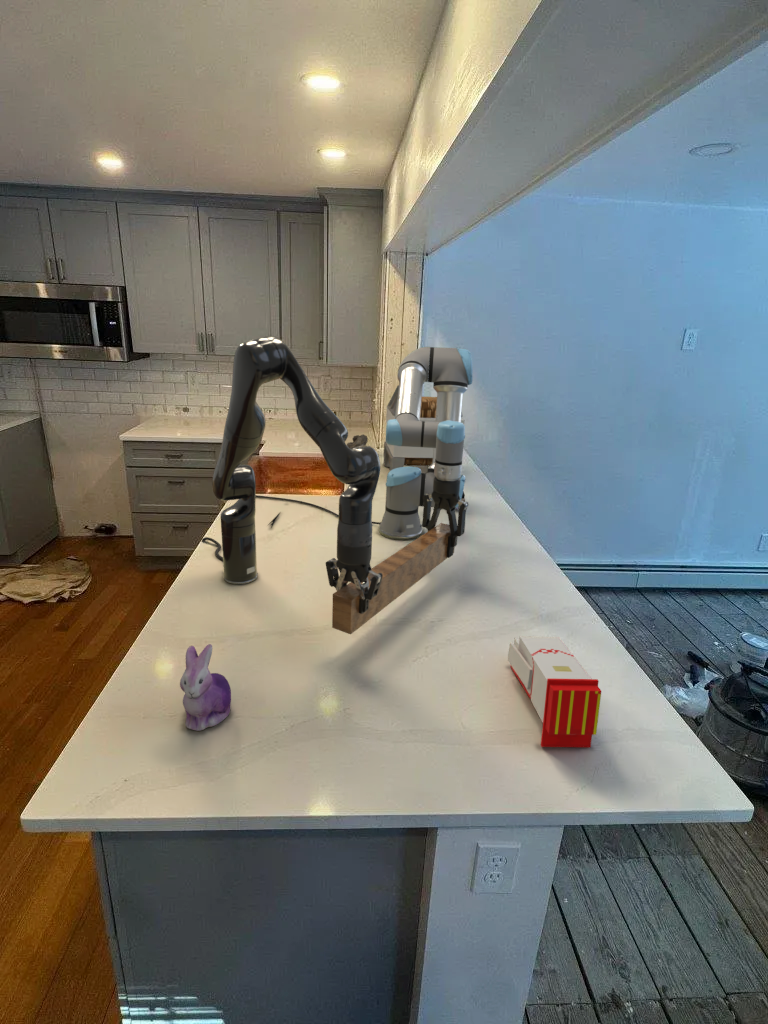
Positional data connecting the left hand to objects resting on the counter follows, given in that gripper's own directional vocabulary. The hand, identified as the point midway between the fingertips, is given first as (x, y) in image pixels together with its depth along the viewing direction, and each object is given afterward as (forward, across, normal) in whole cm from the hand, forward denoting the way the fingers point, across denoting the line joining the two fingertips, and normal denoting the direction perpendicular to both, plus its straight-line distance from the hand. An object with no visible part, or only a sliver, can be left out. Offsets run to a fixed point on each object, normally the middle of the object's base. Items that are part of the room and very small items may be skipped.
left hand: (352, 608), depth 127 cm
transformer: (+11, -59, +143) cm, 155 cm away
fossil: (+11, -104, +154) cm, 186 cm away
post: (+4, 0, +23) cm, 24 cm away
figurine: (+11, -10, -34) cm, 37 cm away
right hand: (+3, 0, +46) cm, 47 cm away
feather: (+11, -72, +56) cm, 92 cm away
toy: (+11, +43, +8) cm, 45 cm away
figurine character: (+11, -24, +108) cm, 111 cm away
